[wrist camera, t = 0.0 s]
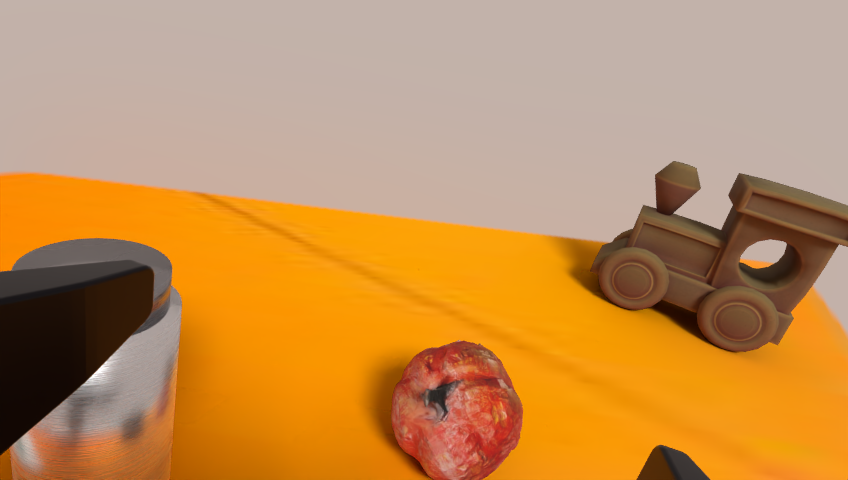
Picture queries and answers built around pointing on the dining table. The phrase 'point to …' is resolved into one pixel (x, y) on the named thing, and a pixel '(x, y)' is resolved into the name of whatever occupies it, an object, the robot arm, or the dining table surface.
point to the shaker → (111, 386)
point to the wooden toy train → (724, 257)
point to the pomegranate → (456, 411)
